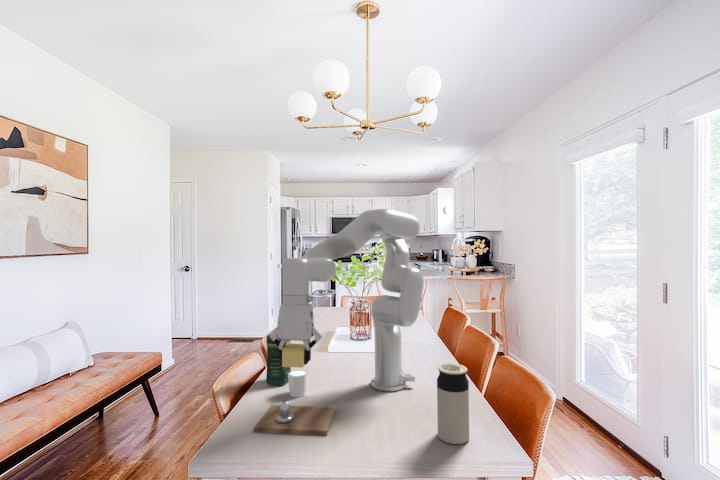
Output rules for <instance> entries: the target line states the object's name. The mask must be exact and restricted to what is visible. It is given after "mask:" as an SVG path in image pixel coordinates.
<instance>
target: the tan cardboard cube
mask: <svg viewBox="0 0 720 480" xmlns="http://www.w3.org/2000/svg"><path fill="white" fill-rule="evenodd" d="M304 351H305V345H304V343H290V344H288V345H286V346H285V347H284V348H283V349H282V367H291V368H301V369H302V368H303V369H304V367H305V364H304Z"/></svg>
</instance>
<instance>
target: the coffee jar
mask: <svg viewBox="0 0 720 480" xmlns="http://www.w3.org/2000/svg"><path fill="white" fill-rule="evenodd" d="M270 334H271V333H270ZM270 334H268V335H267V336H266V381H265V382H266V384H267V385H270V386H273V387H277V386H283V385H286V384H287V383H289V380H288V373H289V372H291V371H292V369H291V368H292V367H282V363H281V360H280V349H279V348H278V346H277V345H276V344H275V343H274V341H273V340H272V339H271V338H270V337H269V335H270ZM276 336H277V334H276ZM277 338H278V337H277ZM280 340H281V339H280ZM291 341H292V340H287V343H286V345H288V344H292V342H291Z"/></svg>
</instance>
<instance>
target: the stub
mask: <svg viewBox="0 0 720 480" xmlns="http://www.w3.org/2000/svg"><path fill="white" fill-rule="evenodd" d="M279 405H280V414H278V415H277V416H276V422H277V423H279V424H287V423H290V422H292V421H293V414H292V413H289V406H290V400H286V399H283V400H281V401H280V402H279Z"/></svg>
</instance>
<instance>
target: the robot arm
mask: <svg viewBox="0 0 720 480" xmlns="http://www.w3.org/2000/svg"><path fill="white" fill-rule="evenodd" d="M420 231H421V226H420V222H419V220H418V219H417V218H416V217H415V216H414V215H412V214H409V213H404V212H401V211H398V210H397V211H396V210H392V209H389V208H376V209H369V210H366V211H363V212H361V213H360V214H359V215H358V216H357V217H355V219H353V220H352V221H351V222H350V223H348V225H346V226H345V227H343V228H342V229H341V230H340V231H338V232H337V233H335V234H334V235H331V236H330V237H328V238H326V239H325V240H323V241H321V242H319V243H316V245H314V246H313V247H311V248H310V249H309V250H308V251H307V252H305V253H304V254H303V255H302V256H301V257H287V258H285V259H283V263H282V304H280V305H279V311H278V316H277V325H276V326H277V327H276V328H274V330H273V331H272V332H271V333H270V335H269V334H268V335H269V337H270V338H271V339H272V340H273V341H274V343H275V344H276V345H277V346H278V348H279V349H280V360H281V363H282V349H283V348H284V347H285V346H286V343H287V340H291V341H301V342H303V343H302V344H304V345H305V351H304V364H305V365H308V363H310V361H311V358H312V354H311V353H312V352H311V351H312V348H313V347H314V346H315V345H316V344H317V343H319V341H320V340H321V339H323V336H322V334H320V332H319V331H318V330H317V329H316V328H315V319H314V309H313V305H312V304H311V303H310V302H315V301H314V299H315V297H314V296H311V295H310V283H311V282H318V283H325V282H330V280H331V281H332V279H333V278H334V277H335V276H336V273H337V266H336V263H335V262H334V260H337V259H340V258H344V257H347V256H350V255H353V254H355V253H357V252H358V251H360V249H361V248H362V247H364V245H366V244H367V243H368V242H369V241H370V240H371V239H372V238H373V237H375V236H376V235H377V236H378V235H379V236H380V239H381V240H382V241H383V244H384V246H385V250H386V251H385V252H386V253H385V259H384V265H383V269H382V275H381V280H380V281H381V287H382V288H383V290H385V291H387V292H389V293H394V294H400V295H399V296H395V295H385V294H384V295H380V296H377V297H376V298H375V299H374V300H373V301H372V303H371V307H370V309H371V317H372V323H373V329H374V332H373V333H374V377H373V378H372V379H371V380H370V386H371V387H372V388H373V389H375V390H378V391H382V392H397V391H401V390H404V389H405V388H406V387H407V382H412V383H413V382H416V377H415V375H412V373H407V374H406V373H404V370H403V368H402V366H403V363H402V358H403V355H402V352H403V351H402V350H403V349H402V348H403V347H402V332H401V329H400V327H405V328H408V327H411V326H413V325H415V323H416V321H417V320H418V316H419V313H420V307H421V304H422V303H421V302H422V296H423V291H424V278H423V273H422V272H421V271H420V270H419V269H418V268H417V267H413V266H409V264H410V263H409V262H410V250H409V247H408V245H407V243H406V241H409V240H414V239H415V238H416V237H417V236H418V235H419V234H420ZM276 334H277V336H276ZM277 337H278V338H277ZM313 337H314V339H313V340H312V341H311V338H313ZM280 339H281V340H280Z"/></svg>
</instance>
